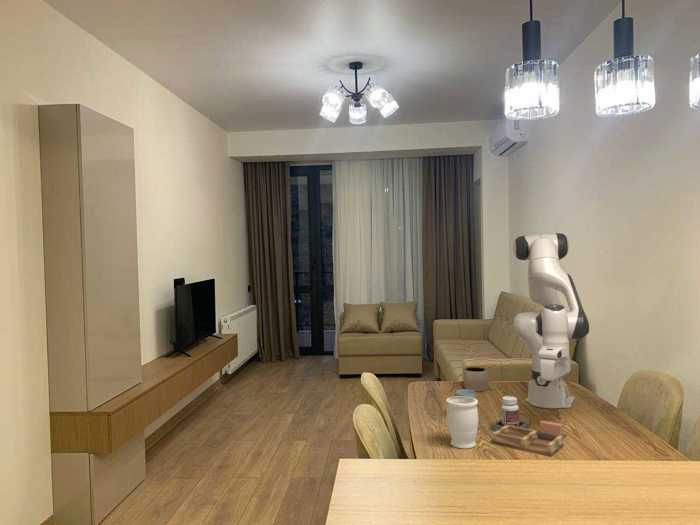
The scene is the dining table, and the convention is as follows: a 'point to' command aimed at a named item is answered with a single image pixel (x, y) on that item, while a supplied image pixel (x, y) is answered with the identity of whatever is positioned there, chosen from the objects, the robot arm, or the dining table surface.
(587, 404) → the dining table surface
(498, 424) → the socket collar
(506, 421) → the pill bottle
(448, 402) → the jar
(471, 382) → the planter
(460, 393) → the cup
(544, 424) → the pink rectangular block
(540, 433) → the grey metal lipped plate
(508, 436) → the rack
